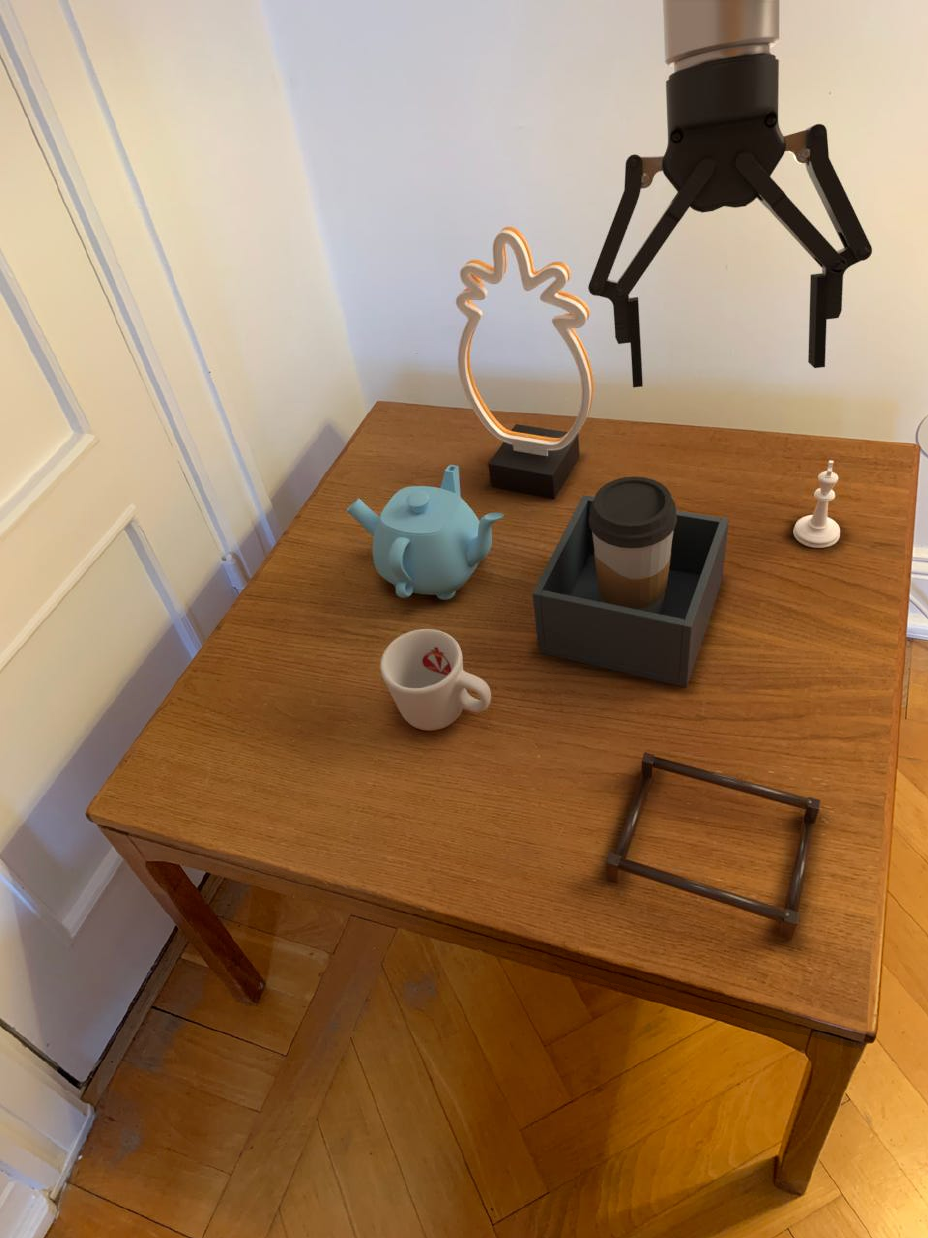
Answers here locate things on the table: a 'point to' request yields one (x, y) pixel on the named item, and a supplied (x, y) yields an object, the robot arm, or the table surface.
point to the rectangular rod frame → (784, 916)
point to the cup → (430, 679)
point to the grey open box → (624, 634)
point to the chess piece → (820, 515)
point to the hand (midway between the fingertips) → (725, 374)
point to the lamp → (546, 454)
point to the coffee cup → (633, 542)
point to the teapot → (427, 538)
